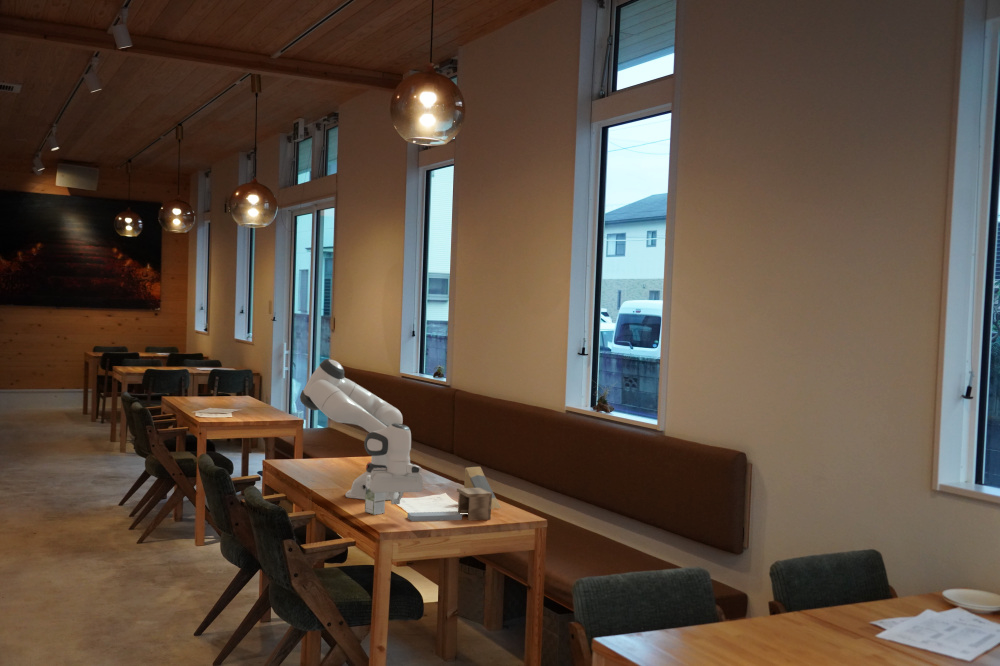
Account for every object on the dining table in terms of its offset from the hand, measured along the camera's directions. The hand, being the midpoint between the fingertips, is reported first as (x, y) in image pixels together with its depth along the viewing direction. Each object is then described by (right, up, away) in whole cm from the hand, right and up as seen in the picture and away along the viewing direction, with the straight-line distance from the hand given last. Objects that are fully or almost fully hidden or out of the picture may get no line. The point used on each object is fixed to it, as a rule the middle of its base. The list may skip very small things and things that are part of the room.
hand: (395, 504), depth 326 cm
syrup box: (-9, -6, +11) cm, 16 cm away
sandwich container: (+32, -8, +37) cm, 49 cm away
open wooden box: (+29, -8, +14) cm, 33 cm away
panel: (+14, -8, +7) cm, 18 cm away
